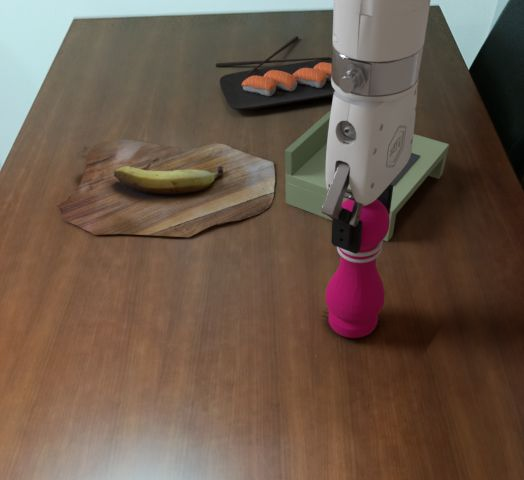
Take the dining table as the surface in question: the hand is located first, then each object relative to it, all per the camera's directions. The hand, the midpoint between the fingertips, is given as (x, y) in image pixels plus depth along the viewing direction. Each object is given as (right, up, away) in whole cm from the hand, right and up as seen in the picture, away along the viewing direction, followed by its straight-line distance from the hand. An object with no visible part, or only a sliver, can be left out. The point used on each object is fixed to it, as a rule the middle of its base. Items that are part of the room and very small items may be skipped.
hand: (361, 228), depth 64 cm
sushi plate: (-6, +44, +57) cm, 73 cm away
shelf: (+6, +13, +31) cm, 34 cm away
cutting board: (-26, +14, +34) cm, 45 cm away
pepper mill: (+1, -10, +12) cm, 15 cm away
